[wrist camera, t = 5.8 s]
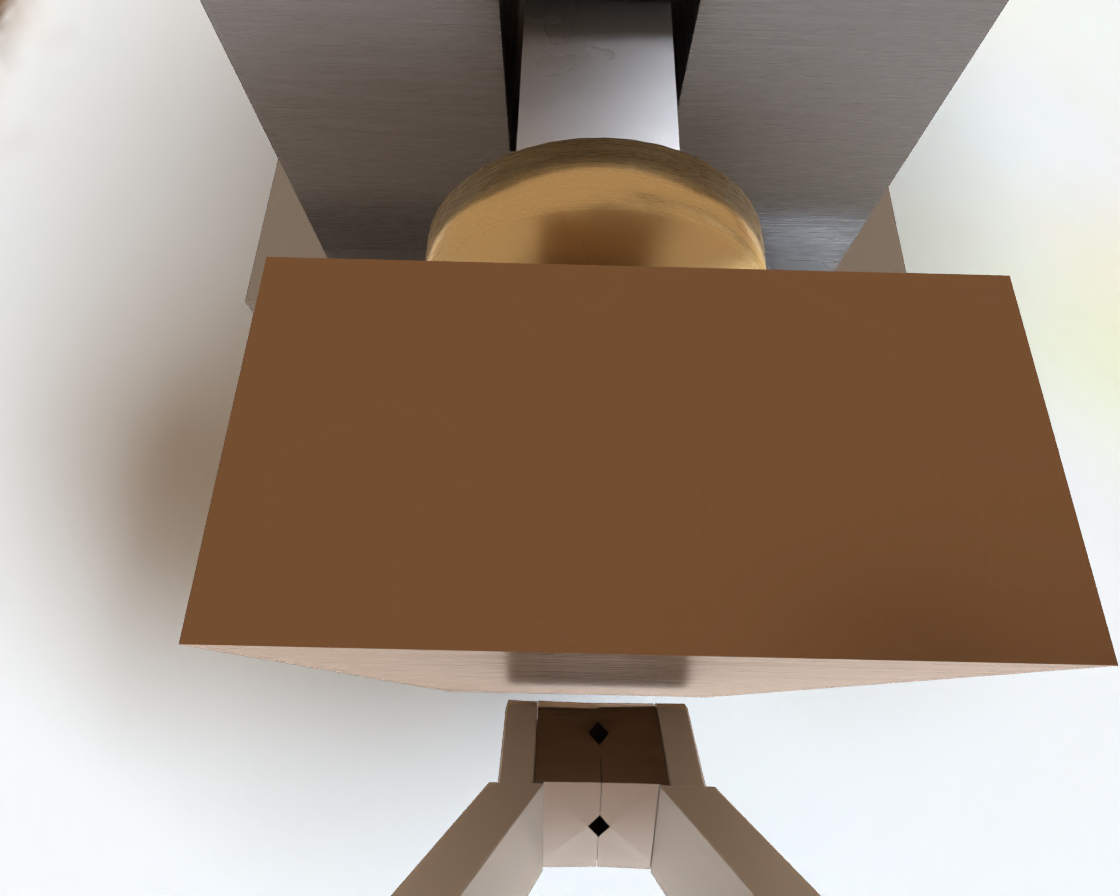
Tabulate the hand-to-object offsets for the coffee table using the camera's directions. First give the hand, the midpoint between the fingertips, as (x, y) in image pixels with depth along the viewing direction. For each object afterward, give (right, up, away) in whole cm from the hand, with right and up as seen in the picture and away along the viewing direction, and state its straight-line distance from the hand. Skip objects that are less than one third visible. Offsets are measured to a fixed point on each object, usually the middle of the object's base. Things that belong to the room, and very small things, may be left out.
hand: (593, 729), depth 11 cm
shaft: (0, +9, +8) cm, 12 cm away
